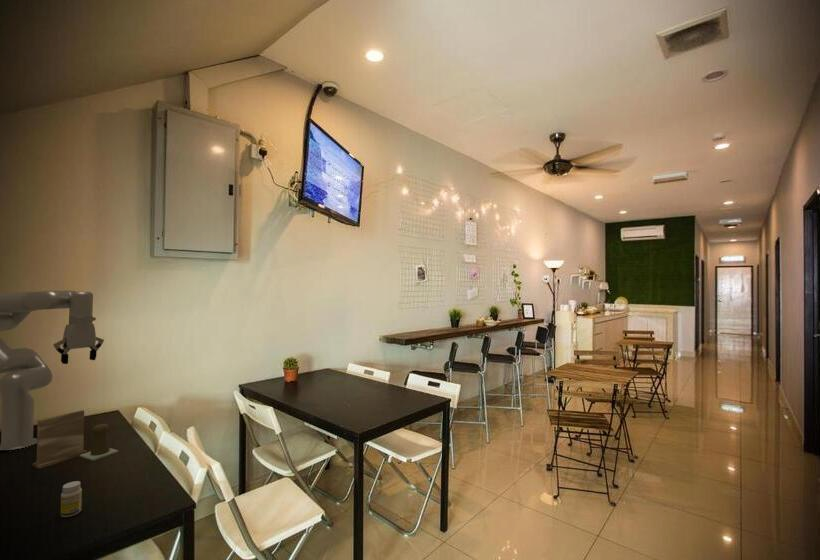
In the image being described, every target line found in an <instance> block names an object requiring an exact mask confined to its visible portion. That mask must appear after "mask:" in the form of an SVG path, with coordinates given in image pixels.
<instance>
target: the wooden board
mask: <svg viewBox="0 0 820 560" xmlns="http://www.w3.org/2000/svg"><path fill="white" fill-rule="evenodd" d="M84 429H85V410H83V409H80V410H76V411H71V412H68V413H63V414H59V415H55V416H52V417H51V416H50V417H47V418H43V419H38V420H37V435H36V437H37V443H36V445H37V446H36V462H33V463H32V467H34V468H36V469H43V468H46V467H50V466H52V465H55V464H58V463H62V462H64V461H67V460H70V459H73V458H77V457H80V455H81V454H84V453H87V452H88V450H86V449H84V442H85V440H84V438H85V436H84V435H85V432H84V431H85V430H84Z"/></svg>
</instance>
